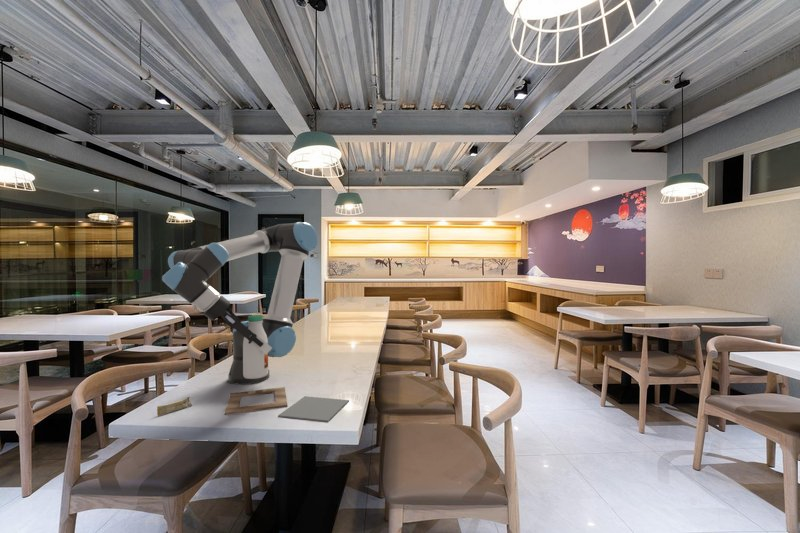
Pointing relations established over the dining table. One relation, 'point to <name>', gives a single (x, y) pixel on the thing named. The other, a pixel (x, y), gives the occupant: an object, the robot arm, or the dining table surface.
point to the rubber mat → (314, 409)
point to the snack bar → (173, 406)
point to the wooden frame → (279, 402)
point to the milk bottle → (255, 351)
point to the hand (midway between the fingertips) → (266, 348)
